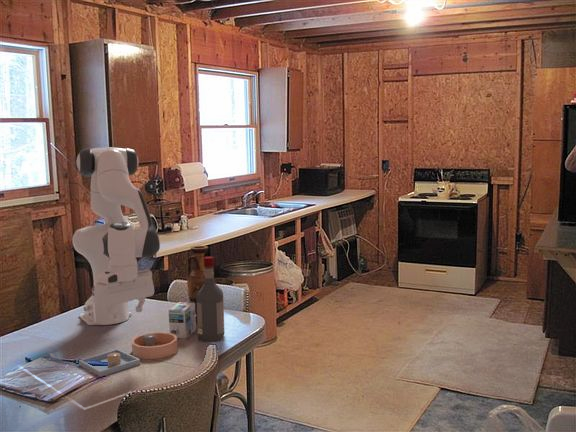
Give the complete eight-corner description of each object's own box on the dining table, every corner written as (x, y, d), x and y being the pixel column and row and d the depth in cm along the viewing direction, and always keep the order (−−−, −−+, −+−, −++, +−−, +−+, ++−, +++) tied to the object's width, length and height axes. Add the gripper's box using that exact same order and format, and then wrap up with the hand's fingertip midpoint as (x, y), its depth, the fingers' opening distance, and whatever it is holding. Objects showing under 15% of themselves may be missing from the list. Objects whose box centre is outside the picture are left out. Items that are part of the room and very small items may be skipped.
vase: (218, 317, 244) (215, 244, 240) (212, 325, 234) (209, 249, 230) (192, 316, 245) (189, 244, 241) (184, 325, 235) (181, 249, 231)
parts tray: (79, 366, 194) (78, 360, 194) (118, 355, 204) (117, 348, 203) (100, 378, 184) (100, 371, 184) (140, 365, 194) (140, 359, 194)
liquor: (224, 333, 224) (222, 254, 220) (223, 342, 215) (220, 259, 211) (200, 334, 224) (197, 255, 219) (197, 342, 215) (194, 260, 210)
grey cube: (141, 347, 208) (141, 336, 207) (151, 344, 211) (151, 333, 210) (148, 350, 205) (147, 339, 204) (158, 347, 208) (157, 336, 207)
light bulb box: (186, 338, 219) (185, 310, 217) (169, 338, 220) (167, 309, 219) (196, 329, 229) (195, 302, 228) (179, 328, 231) (178, 301, 229)
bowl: (124, 352, 206) (123, 340, 205) (161, 341, 216) (160, 329, 216) (148, 363, 195) (147, 350, 195) (186, 351, 206) (185, 339, 205)
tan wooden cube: (105, 367, 192) (104, 355, 191) (116, 363, 195) (116, 351, 194) (111, 370, 189) (111, 358, 188) (123, 366, 192) (122, 354, 191)
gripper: (146, 266, 203) (148, 306, 204) (89, 277, 188) (93, 320, 190) (156, 268, 198) (159, 309, 200) (100, 280, 184) (103, 323, 185)
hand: (126, 314), depth 195 cm, fingers open, 8 cm apart
